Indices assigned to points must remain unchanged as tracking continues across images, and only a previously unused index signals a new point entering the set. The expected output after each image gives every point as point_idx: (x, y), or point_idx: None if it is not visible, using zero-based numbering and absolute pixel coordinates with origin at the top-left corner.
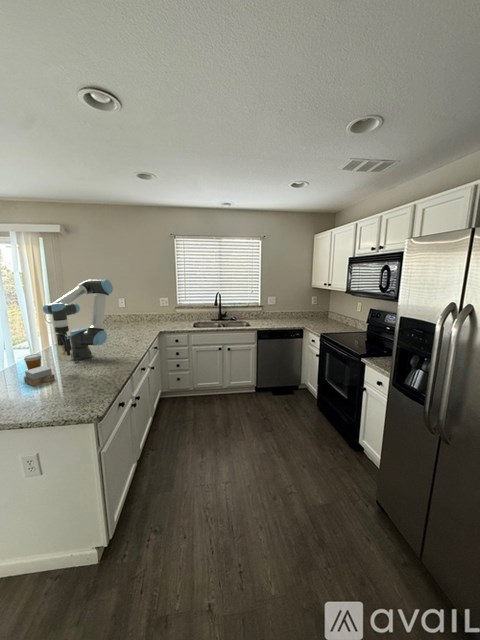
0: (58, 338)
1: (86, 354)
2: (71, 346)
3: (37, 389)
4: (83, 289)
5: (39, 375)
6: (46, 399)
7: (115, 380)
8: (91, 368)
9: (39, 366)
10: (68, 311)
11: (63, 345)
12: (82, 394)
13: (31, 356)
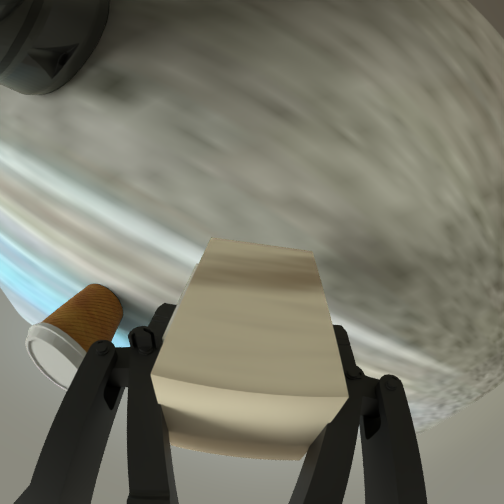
0: (88, 500)
1: (88, 7)
2: (343, 374)
3: None
4: None
5: None
6: (419, 395)
7: None
8: (352, 113)
9: (104, 319)
10: None
11: (217, 430)
12: (494, 338)
13: (53, 366)
